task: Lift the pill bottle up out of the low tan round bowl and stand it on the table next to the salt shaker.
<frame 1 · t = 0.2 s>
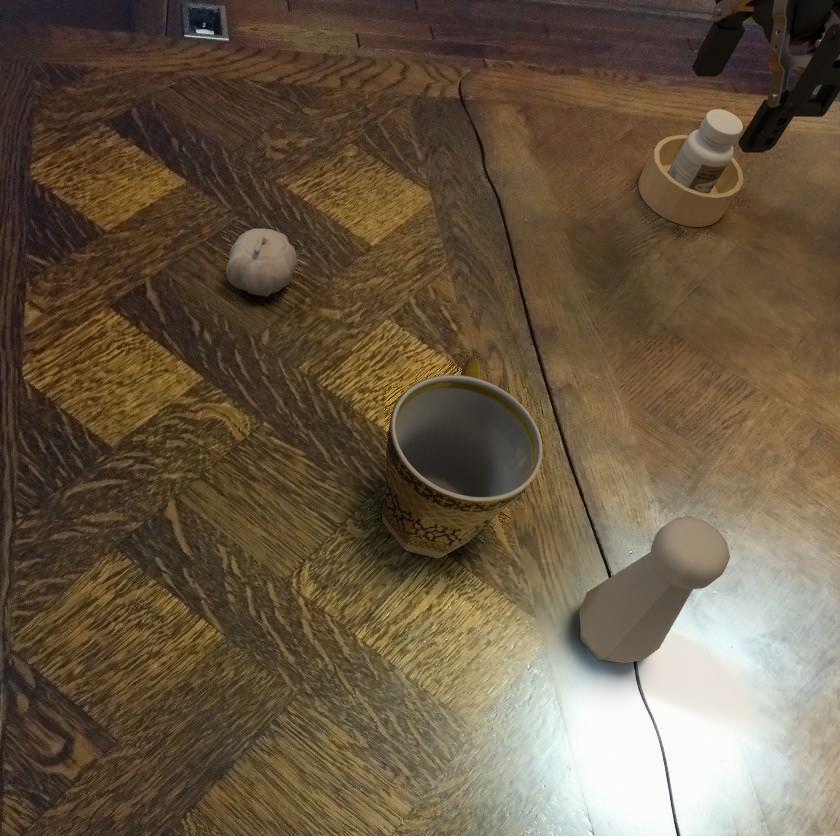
hand: (727, 110, 72), 18 cm above the table, tool pointing down, fingers open, 8 cm apart
garlic: (258, 285, 81), on the table
salt shaker: (606, 637, 68), on the table
tan round bowl: (681, 195, 95), on the table, touching pill bottle
pill bottle: (682, 193, 94), resting on tan round bowl
ceramic cup: (428, 502, 72), on the table
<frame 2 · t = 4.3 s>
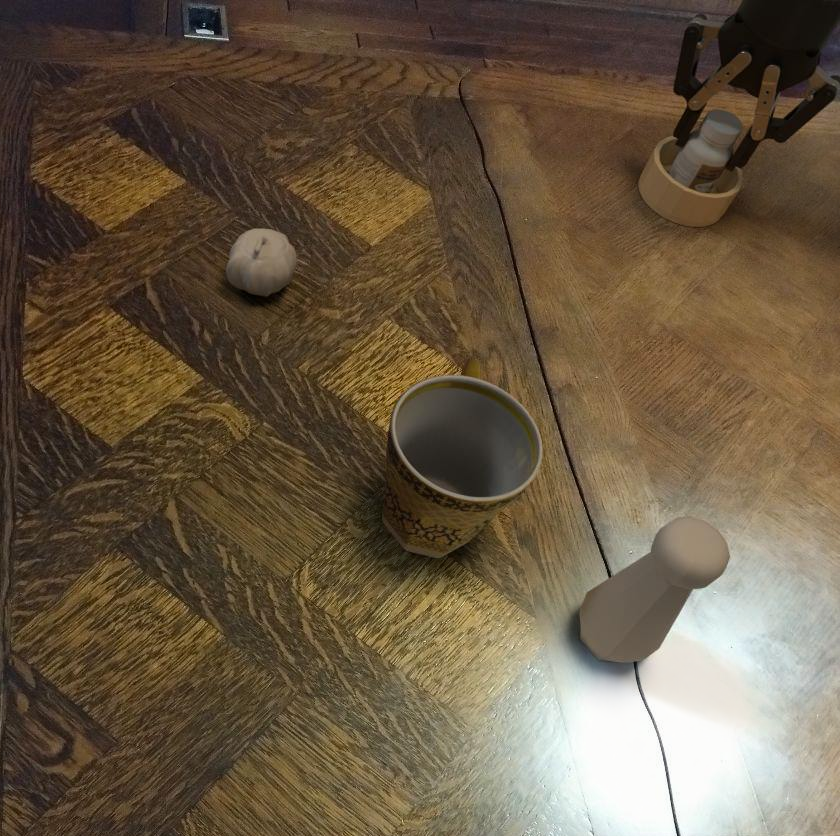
hand: (705, 153, 91), 5 cm above the table, tool pointing down, fingers closed on pill bottle, 4 cm apart
pill bottle: (682, 193, 94), resting on tan round bowl, touching gripper
everything else where it was.
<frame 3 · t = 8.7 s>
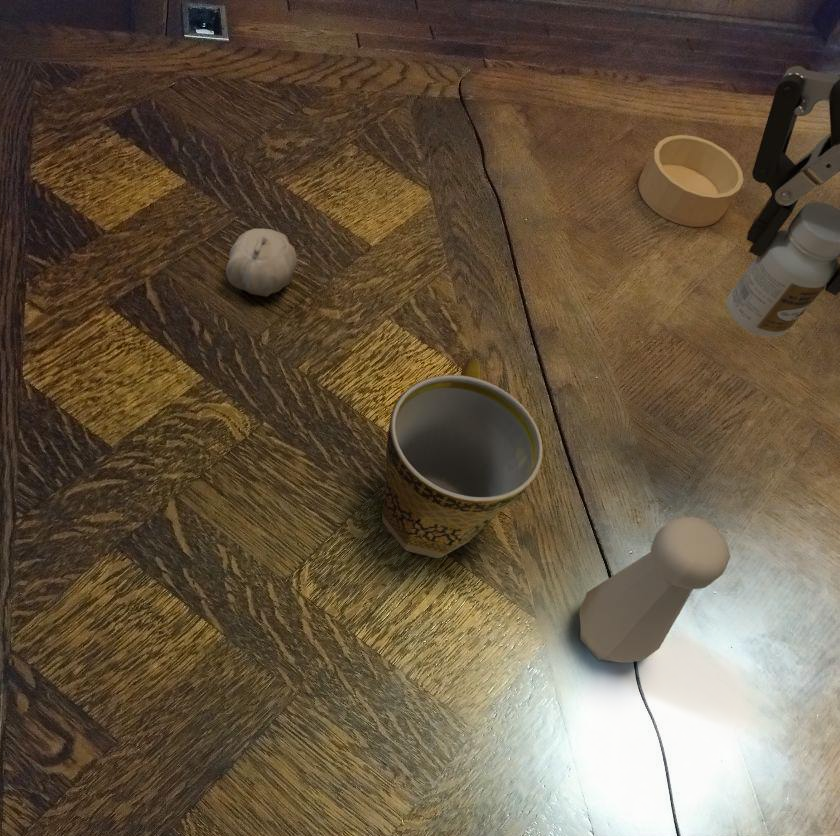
hand: (795, 265, 60), 20 cm above the table, tool pointing down, fingers closed on pill bottle, 4 cm apart
tan round bowl: (681, 195, 95), on the table
pill bottle: (755, 316, 64), point 15 cm above the table, touching gripper
everything else where it was.
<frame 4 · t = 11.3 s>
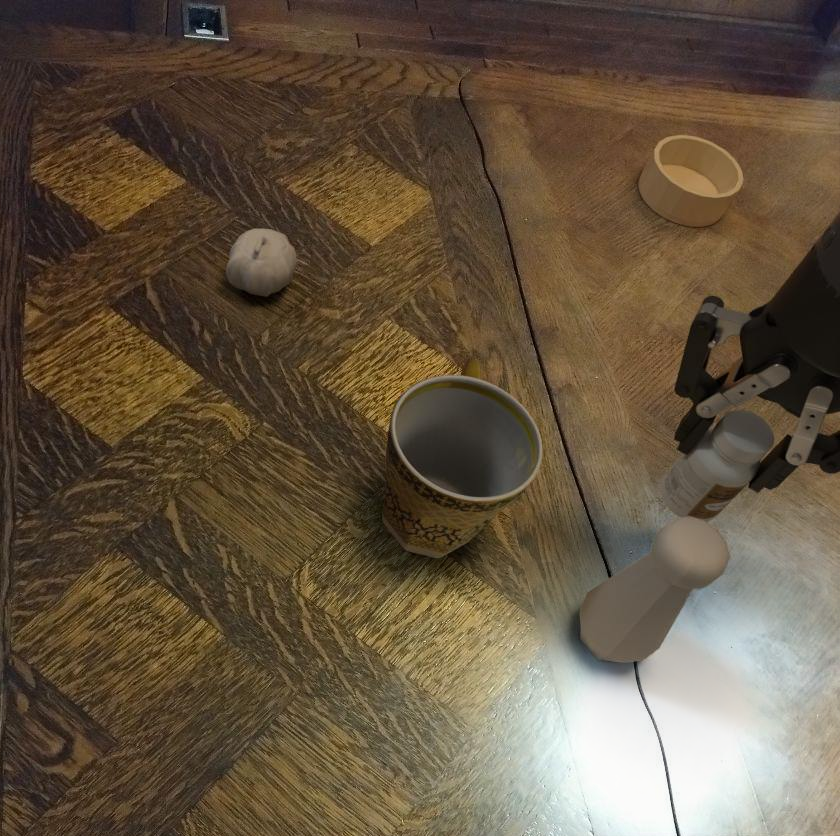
hand: (720, 461, 64), 10 cm above the table, tool pointing down, fingers closed on pill bottle, 4 cm apart
pill bottle: (687, 499, 68), point 6 cm above the table, touching gripper
everything else where it was.
when the fingers open (4 cm above the table, at t = 13.1 s): pill bottle stays where it is, on the table.
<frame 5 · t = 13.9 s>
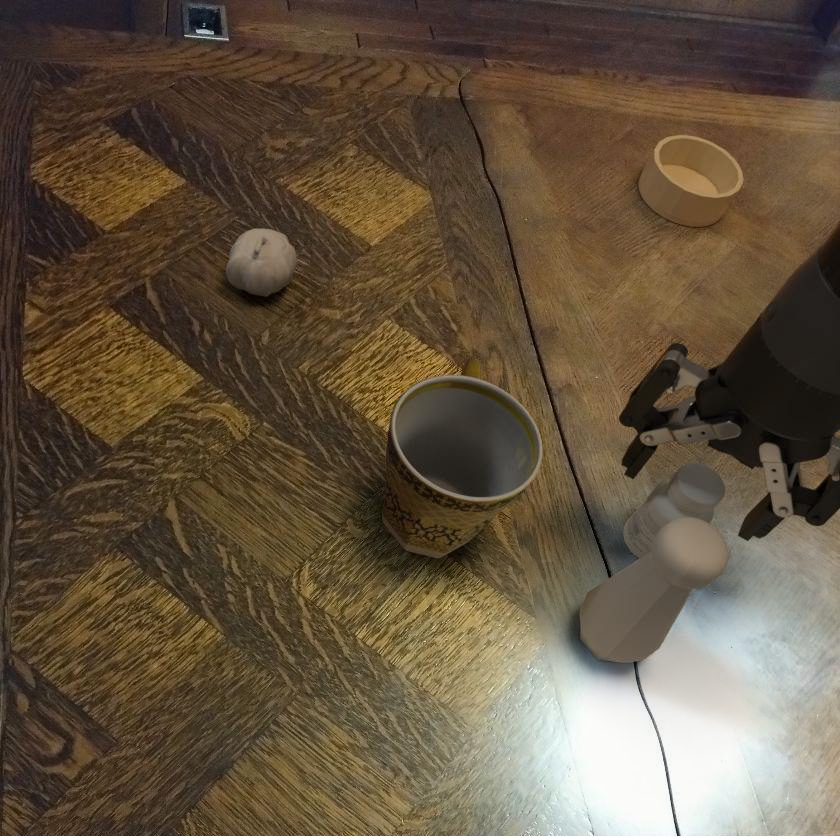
hand: (687, 499, 68), 6 cm above the table, tool pointing down, fingers open, 8 cm apart
pill bottle: (649, 542, 73), on the table
everything else where it was.
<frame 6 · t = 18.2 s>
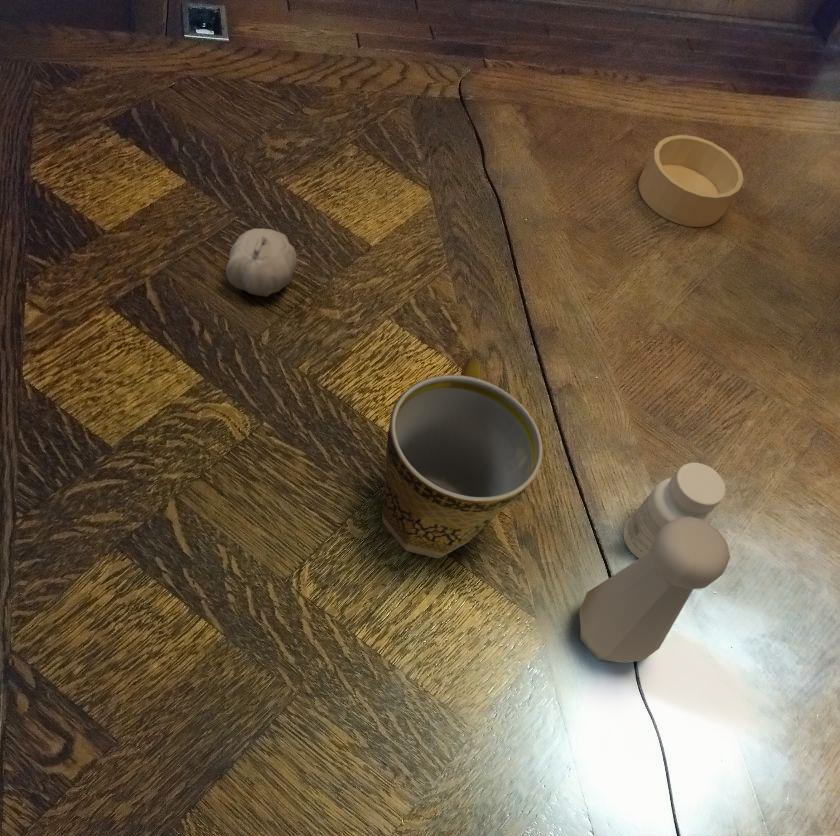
nothing on the table moved.
at the end: pill bottle touching table; pill bottle 9.3 cm from the salt shaker (horizontally); pill bottle tilted 0° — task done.
